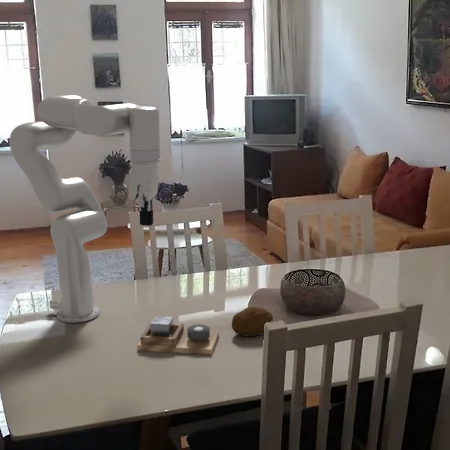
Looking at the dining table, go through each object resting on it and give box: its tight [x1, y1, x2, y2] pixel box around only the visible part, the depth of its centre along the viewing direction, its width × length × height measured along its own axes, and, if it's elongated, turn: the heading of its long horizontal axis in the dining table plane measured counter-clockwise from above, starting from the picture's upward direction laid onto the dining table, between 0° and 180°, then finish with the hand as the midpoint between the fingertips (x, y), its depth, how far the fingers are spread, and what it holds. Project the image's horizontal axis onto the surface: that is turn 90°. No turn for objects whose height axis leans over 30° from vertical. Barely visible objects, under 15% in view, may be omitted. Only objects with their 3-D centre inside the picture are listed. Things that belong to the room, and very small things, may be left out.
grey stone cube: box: [149, 315, 174, 337], centre depth 167 cm, size 5×5×5 cm
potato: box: [231, 306, 274, 337], centre depth 171 cm, size 8×12×8 cm, turn 120°
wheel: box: [186, 323, 211, 341], centre depth 165 cm, size 6×6×2 cm
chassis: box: [136, 321, 220, 355], centre depth 166 cm, size 20×11×4 cm, turn 81°
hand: (146, 224), depth 162 cm, fingers closed
